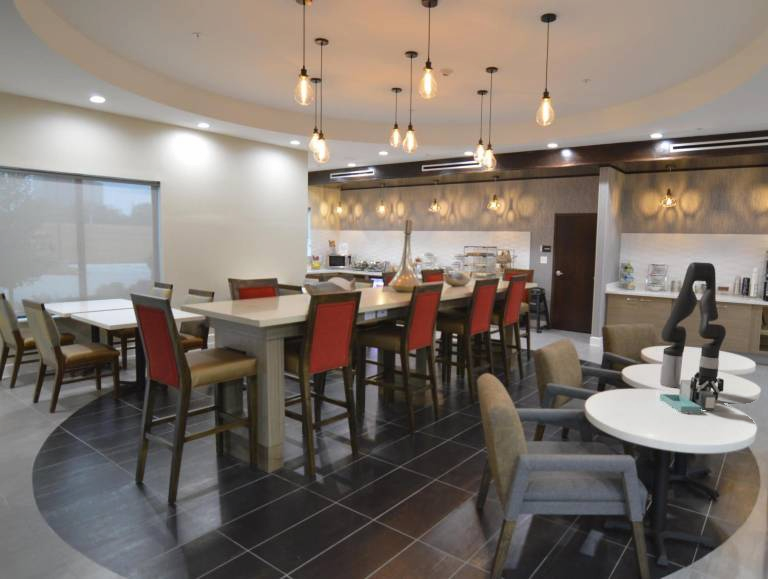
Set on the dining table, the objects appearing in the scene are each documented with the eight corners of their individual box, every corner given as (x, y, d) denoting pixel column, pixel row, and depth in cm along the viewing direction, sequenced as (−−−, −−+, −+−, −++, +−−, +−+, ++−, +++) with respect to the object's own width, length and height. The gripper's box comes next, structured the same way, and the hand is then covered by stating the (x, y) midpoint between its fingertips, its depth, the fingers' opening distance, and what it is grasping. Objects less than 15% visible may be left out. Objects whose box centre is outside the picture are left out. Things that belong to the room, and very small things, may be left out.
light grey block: (678, 399, 255) (680, 379, 254) (697, 400, 255) (699, 380, 254) (688, 405, 247) (691, 384, 246) (707, 406, 247) (710, 385, 246)
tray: (659, 399, 254) (660, 393, 253) (678, 400, 254) (679, 394, 253) (680, 412, 236) (681, 406, 235) (700, 413, 236) (701, 406, 235)
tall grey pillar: (687, 402, 252) (688, 386, 251) (697, 402, 252) (698, 387, 251) (704, 411, 239) (705, 395, 238) (714, 412, 239) (716, 395, 238)
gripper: (718, 364, 244) (715, 397, 245) (689, 363, 244) (685, 396, 245) (729, 368, 236) (725, 402, 238) (698, 367, 236) (695, 401, 238)
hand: (705, 399), depth 241 cm, fingers open, 8 cm apart
